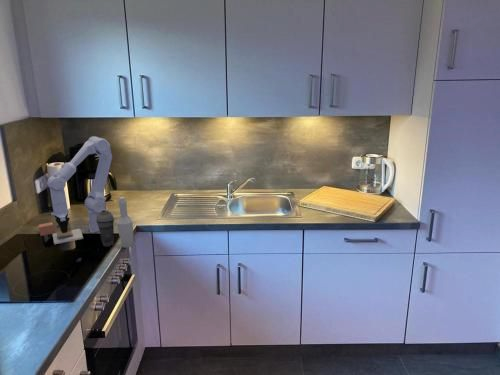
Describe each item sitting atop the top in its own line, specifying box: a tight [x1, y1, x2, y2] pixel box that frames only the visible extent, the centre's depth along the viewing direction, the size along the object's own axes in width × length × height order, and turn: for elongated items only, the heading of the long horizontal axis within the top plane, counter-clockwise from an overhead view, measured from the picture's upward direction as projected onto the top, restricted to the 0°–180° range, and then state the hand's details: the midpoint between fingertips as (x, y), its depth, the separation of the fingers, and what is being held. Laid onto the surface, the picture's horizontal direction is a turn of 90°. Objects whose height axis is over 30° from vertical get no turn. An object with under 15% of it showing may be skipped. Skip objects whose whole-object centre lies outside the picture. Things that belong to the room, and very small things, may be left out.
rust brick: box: [38, 221, 55, 237], centre depth 193 cm, size 4×6×4 cm, turn 119°
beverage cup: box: [96, 200, 115, 247], centre depth 176 cm, size 7×7×20 cm
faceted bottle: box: [117, 196, 134, 249], centre depth 174 cm, size 6×6×22 cm
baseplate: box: [51, 228, 84, 245], centre depth 188 cm, size 12×11×1 cm
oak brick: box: [55, 222, 72, 237], centre depth 185 cm, size 4×6×4 cm, turn 118°
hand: (64, 230), depth 186 cm, fingers closed on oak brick, 4 cm apart
